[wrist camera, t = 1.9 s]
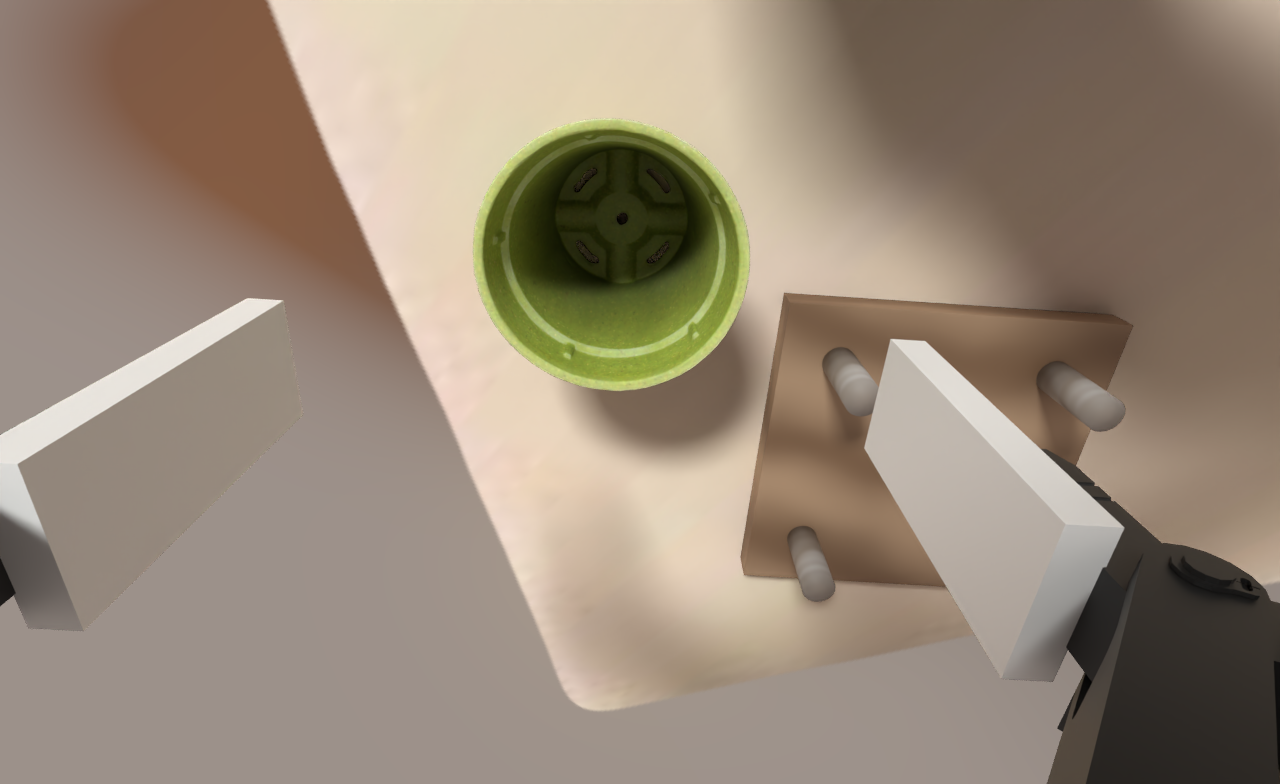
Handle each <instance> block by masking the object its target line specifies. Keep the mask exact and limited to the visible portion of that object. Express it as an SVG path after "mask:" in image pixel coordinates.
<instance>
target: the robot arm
mask: <svg viewBox="0 0 1280 784" xmlns="http://www.w3.org/2000/svg"><path fill="white" fill-rule="evenodd" d="M302 416H303V410H302V404H301V399H300V393H299V387H298V381H297V375H296V370H295V364H294V358H293V352H292V347H291V341H290V336H289V329H288V324H287V318H286V312H285V307H284V301H282V300H266V299H250V298H247V299H245V300H243V301H242V302H240V303H238V304H236V305H235V306H233V307H231V308H229V309H227V310H225V311H224V312H222V313H220V314H218V315H216V316H214V317H213V318H211V319H209V320H207V321H205V322H204V323H202V324H200V325H198V326H196V327H195V328H193V329H191V330H189V331H187V332H186V333H184V334H182V335H180V336H178V337H176V338H175V339H173V340H171V341H169V342H167V343H166V344H164V345H162V346H160V347H158V348H157V349H155V350H153V351H151V352H150V353H148V354H146V355H144V356H142V357H140V358H138V359H137V360H135V361H133V362H131V363H129V364H128V365H126V366H124V367H122V368H121V369H119V370H117V371H115V372H113V373H111V374H110V375H108V376H106V377H104V378H102V379H101V380H99V381H97V382H95V383H93V384H91V385H90V386H88V387H86V388H84V389H82V390H81V391H79V392H77V393H75V394H74V395H72V396H70V397H68V398H66V399H64V400H63V401H61V402H59V403H57V404H55V405H53V406H51V407H49V408H48V409H46V410H44V411H42V412H40V413H39V414H37V415H35V416H33V417H31V418H29V419H28V420H26V421H24V422H23V423H21V424H19V425H17V426H15V427H13V428H11V429H9V430H8V431H6V432H4V433H2V434H0V606H1V605H2V604H3V603H5V602H6V601H7V600H8V599H10V598H11V597H12V596H13V595H14V597H15V599H16V602H17V604H18V606H19V608H20V611H21V613H22V615H23V617H24V620H25V622H26V624H27V626H28V628H33V629H52V630H71V631H84V630H85V629H86V628H87V627H88V626H89V625H90V624H91V623H92V622H93V621H94V620H96V618H98V617H99V615H101V614H102V613H103V612H104V611H105V610H106V609H107V608H108V607H109V606H110V605H111V603H113V602H114V601H115V600H116V599H117V598H118V597H119V596H120V595H121V594H122V593H123V592H124V591H125V590H126V589H127V588H128V587H129V586H130V585H131V584H132V583H133V582H134V581H135V580H136V579H137V578H138V577H139V576H140V575H141V574H142V573H143V572H144V571H145V570H146V569H147V568H148V567H149V566H150V565H151V564H152V563H153V562H154V561H155V560H156V559H157V558H158V557H159V556H161V554H163V553H164V551H166V550H167V549H168V548H169V547H170V545H172V544H173V543H174V542H175V541H176V540H177V539H178V538H179V537H180V536H181V535H182V534H183V533H184V532H185V531H186V530H187V529H188V528H189V527H190V526H191V525H192V524H193V523H194V522H195V521H196V520H197V519H198V518H199V517H200V516H201V515H202V514H203V513H204V512H205V511H206V510H207V509H208V508H209V507H210V506H211V505H212V504H213V503H214V502H215V501H216V500H217V499H218V498H219V497H220V496H221V495H222V494H223V493H224V492H226V491H227V490H228V488H229V487H231V486H232V485H233V484H234V483H235V481H237V479H239V478H240V477H241V476H242V475H243V474H244V473H245V472H246V471H247V470H248V469H249V468H250V467H251V466H252V465H253V464H254V463H255V462H256V461H257V460H258V459H259V458H260V457H261V456H262V455H263V454H264V453H265V452H266V451H267V450H268V449H269V448H270V447H271V446H272V445H273V444H274V443H275V442H276V441H277V440H278V439H279V438H280V437H281V436H282V435H283V434H284V433H285V432H286V431H287V430H288V429H290V427H292V426H293V424H295V423H296V421H298V420H299V419H300V418H301V417H302ZM864 449H865V450H866V452H867V454H868V455H869V457H870V459H871V461H872V462H873V464H874V466H875V467H876V469H877V471H878V472H879V474H880V476H881V477H882V479H883V481H884V482H885V484H886V486H887V488H888V489H889V491H890V493H891V494H892V496H893V498H894V499H895V501H896V503H897V504H898V506H899V508H900V509H901V511H902V513H903V514H904V516H905V518H906V520H907V521H908V523H909V525H910V526H911V528H912V530H913V531H914V533H915V535H916V536H917V538H918V540H919V541H920V543H921V545H922V547H923V548H924V550H925V552H926V553H927V555H928V557H929V558H930V560H931V562H932V563H933V565H934V567H935V568H936V570H937V572H938V574H939V575H940V577H941V579H942V580H943V582H944V584H945V585H946V587H947V589H948V590H949V592H950V594H951V595H952V597H953V599H954V600H955V602H956V604H957V606H958V607H959V609H960V611H961V612H962V614H963V616H964V617H965V619H966V621H967V622H968V624H969V626H970V627H971V629H972V631H973V633H974V634H975V636H976V638H977V639H978V641H979V643H980V644H981V646H982V648H983V649H984V651H985V653H986V654H987V656H988V658H989V660H990V661H991V663H992V664H993V666H994V668H995V669H996V671H997V673H998V675H999V676H1000V678H1001V679H1009V680H1030V681H1049V682H1053V681H1054V678H1055V676H1056V674H1057V672H1058V670H1059V668H1060V665H1061V663H1062V661H1063V659H1064V657H1065V655H1066V653H1067V651H1068V650H1069V652H1070V653H1071V654H1072V656H1073V657H1074V658H1075V660H1076V661H1077V663H1078V664H1079V665H1080V667H1081V668H1082V669H1083V671H1084V672H1085V673H1084V675H1083V677H1082V679H1081V681H1080V683H1079V685H1078V687H1077V689H1076V691H1075V693H1074V695H1073V697H1072V699H1071V701H1070V703H1069V705H1068V708H1067V709H1066V712H1065V714H1064V716H1063V718H1062V720H1061V722H1060V724H1059V726H1058V729H1059V730H1061V731H1063V733H1062V736H1061V740H1060V743H1059V746H1058V749H1057V753H1056V756H1055V759H1054V762H1053V766H1052V769H1051V773H1050V775H1049V779H1048V782H1047V784H1280V603H1277V602H1273V601H1271V600H1270V599H1269V596H1268V594H1267V592H1266V590H1265V589H1264V588H1263V587H1262V586H1261V585H1260V584H1259V583H1258V582H1257V581H1256V580H1255V579H1254V578H1253V577H1252V576H1250V575H1249V574H1247V573H1246V572H1244V571H1243V570H1241V569H1239V568H1238V567H1236V566H1235V565H1233V564H1231V563H1230V562H1227V561H1225V560H1223V559H1221V558H1218V557H1216V556H1214V555H1212V554H1209V553H1207V552H1204V551H1201V550H1197V549H1194V548H1190V547H1187V546H1183V545H1175V544H1167V543H1161V542H1160V541H1159V540H1157V539H1156V538H1155V537H1154V536H1153V535H1152V534H1151V533H1150V532H1149V531H1147V530H1146V529H1145V528H1144V527H1143V526H1142V525H1141V524H1140V523H1139V522H1137V521H1136V520H1135V519H1134V518H1133V517H1132V516H1131V515H1130V514H1129V513H1127V512H1126V511H1125V510H1124V509H1123V508H1122V507H1121V506H1120V505H1119V504H1117V503H1116V502H1115V501H1111V497H1110V496H1109V495H1107V494H1106V493H1105V492H1104V491H1103V490H1102V489H1101V488H1100V487H1099V486H1094V482H1093V481H1092V480H1091V479H1090V478H1089V477H1087V476H1086V475H1085V474H1084V473H1083V472H1082V471H1081V470H1080V469H1079V468H1077V467H1076V466H1075V465H1074V464H1072V463H1070V462H1068V461H1067V460H1065V459H1063V458H1061V457H1059V456H1058V455H1056V454H1054V453H1052V452H1051V451H1049V450H1047V449H1040V448H1039V447H1038V446H1037V445H1036V444H1035V443H1034V442H1033V441H1031V440H1030V439H1029V438H1028V437H1027V436H1026V435H1025V434H1024V433H1023V432H1022V431H1021V430H1020V429H1019V428H1018V427H1017V426H1015V425H1014V424H1013V423H1012V422H1011V421H1010V420H1009V419H1008V418H1007V417H1006V416H1005V415H1004V414H1003V413H1002V412H1000V411H999V410H998V409H997V408H996V407H995V406H994V405H993V404H992V403H991V402H990V401H989V400H988V399H987V398H986V397H984V396H983V395H982V394H981V393H980V392H979V391H978V390H977V389H976V388H975V387H974V386H973V385H972V384H971V383H970V382H968V381H967V380H966V379H965V378H964V377H963V376H962V375H961V374H960V373H959V372H958V371H957V370H956V369H955V368H954V367H952V366H951V365H950V364H949V363H948V362H947V361H946V360H945V359H944V358H943V357H942V356H941V355H940V354H939V353H938V352H936V351H935V350H934V349H933V348H932V347H931V346H930V345H929V344H928V343H927V342H926V341H916V340H900V339H890V343H889V348H888V352H887V356H886V360H885V364H884V368H883V372H882V377H881V381H880V385H879V389H878V393H877V397H876V401H875V405H874V410H873V414H872V418H871V422H870V426H869V430H868V434H867V439H866V443H865V447H864Z"/></svg>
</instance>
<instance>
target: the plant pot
mask: <svg viewBox="0 0 1280 784" xmlns="http://www.w3.org/2000/svg"><path fill="white" fill-rule="evenodd" d="M591 168H595V169H597V174H596V175H594V176H593V177H592V178H591V179H589V180H588V181H587V182H586V184H585V185H584V186H583V187H582V188H581V190H580V191H579V192H575V189H574V186H575V184H577V183H578V181H579V180H581V178H582V175H583V174H584V173H585V172H586V171H587V170H589V169H591ZM647 169H649V170H650V169H652V170H654V171H656V172H657V173H659V174H660V175H661V176H662V177H663V178H664V179H665V180H666V181H667V182H668V184H669V187H670V191H669V192H668V193H664V191H663V190H662V188H661V187H660V186H659V184H658V183H657V182H656V181H655V180H654V178H652V177H651V175H650V174H648V173H647ZM620 213H625V214H626V215H627V216H628V220H627V222H626V223H625V224H622V225H621V224H619V223H618V222H617V216H618V215H619V214H620ZM577 241H582V243H583V244H584V245H585V246H586V248H587V249H588V250H589V251H590V252H591V253H592V254H593V255H595V256H596V257H597V258H598V259H599V263H592V262H590V261H588V260H587V259H586V258H585V257H584V256H583V255H582V254H581V253H580V251H579V250H578V248H577V246H576V242H577ZM665 242H668V245H669V248H668V250H667V251H666V252H665V253H664V254H663V255H662V256H661V258H660V259H659V260H658V261H656V262H655V263H648V262H647V259H648V258H649V257H650V256H652V255H653V254H655V253H656V252H657V251H658V250H659V249H660V248H661V247H662V245H663V244H664V243H665ZM473 264H474V273H475V277H476V282H477V286H478V289H479V293H480V296H481V299H482V302H483V304H484V306H485V308H486V310H487V312H488V314H489V316H490V318H491V319H492V321H493V323H494V324H495V326H496V327H497V329H498V330H499V331H500V333H501V334H502V335H503V337H504V338H505V339H506V340H507V341H508V342H509V344H510V345H511V346H513V347H514V348H515V349H516V350H517V351H518V352H519V353H520V354H521V355H522V356H523V357H525V358H526V359H527V360H529V361H530V362H531V363H532V364H534V365H535V366H537V367H538V368H540V369H542V370H543V371H545V372H547V373H548V374H550V375H552V376H554V377H557V378H559V379H561V380H564V381H567V382H570V383H573V384H575V385H578V386H583V387H587V388H592V389H600V390H610V391H625V390H636V389H642V388H647V387H651V386H654V385H658V384H661V383H664V382H666V381H669V380H671V379H673V378H675V377H678V376H680V375H682V374H683V373H685V372H687V371H688V370H690V369H692V368H693V367H694V366H696V365H697V364H698V363H699V362H700V361H702V360H703V359H704V358H705V357H706V356H707V355H709V354H710V353H711V352H712V351H713V350H714V349H715V348H716V347H717V345H718V344H719V343H720V342H721V341H722V339H723V338H724V337H725V335H726V334H727V332H728V331H729V329H730V328H731V326H732V324H733V322H734V320H735V319H736V316H737V314H738V312H739V310H740V308H741V305H742V302H743V299H744V296H745V292H746V288H747V283H748V277H749V267H750V245H749V236H748V230H747V226H746V223H745V219H744V216H743V213H742V210H741V208H740V206H739V203H738V201H737V199H736V197H735V195H734V194H733V192H732V190H731V188H730V186H729V185H728V183H727V182H726V180H725V179H724V177H723V176H722V175H721V174H720V172H719V171H718V170H717V169H716V167H715V166H714V165H713V164H712V163H711V162H710V161H709V160H708V159H707V158H706V157H705V156H704V155H703V154H702V153H700V152H699V151H698V150H697V149H696V148H694V147H693V146H691V145H690V144H688V143H687V142H685V141H684V140H682V139H680V138H679V137H677V136H675V135H673V134H671V133H669V132H667V131H665V130H662V129H660V128H657V127H654V126H651V125H648V124H645V123H641V122H636V121H632V120H624V119H609V118H606V119H589V120H583V121H578V122H574V123H570V124H567V125H563V126H560V127H558V128H555V129H553V130H551V131H548V132H547V133H545V134H543V135H541V136H539V137H537V138H536V139H534V140H533V141H531V142H530V143H528V144H527V145H526V146H524V147H523V148H522V149H521V150H520V151H518V152H517V153H516V154H515V155H514V156H513V157H512V158H511V159H510V160H509V161H508V162H507V163H506V165H505V166H504V167H503V168H502V169H501V171H500V172H499V173H498V174H497V176H496V177H495V179H494V180H493V182H492V184H491V185H490V187H489V189H488V191H487V193H486V195H485V197H484V199H483V202H482V204H481V207H480V210H479V213H478V216H477V220H476V224H475V229H474V241H473Z"/></svg>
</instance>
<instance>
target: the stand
mask: <svg viewBox="0 0 1280 784" xmlns="http://www.w3.org/2000/svg"><path fill="white" fill-rule="evenodd" d="M1132 327H1133V325H1131V324H1129V323H1128V322H1126V321H1124V320H1122V319H1120V318H1118V317H1116V316H1114V315H1107V314H1092V313H1077V312H1062V311H1047V310H1032V309H1017V308H1001V307H986V306H971V305H956V304H941V303H926V302H911V301H896V300H881V299H866V298H851V297H835V296H820V295H805V294H790V293H784V297H783V303H782V309H781V315H780V321H779V328H778V334H777V340H776V346H775V352H774V358H773V364H772V370H771V376H770V382H769V388H768V394H767V400H766V406H765V412H764V418H763V424H762V431H761V437H760V443H759V449H758V455H757V461H756V467H755V473H754V479H753V485H752V491H751V497H750V503H749V509H748V515H747V521H746V527H745V533H744V540H743V546H742V552H741V562H742V567H743V573H744V575H756V576H773V577H790V578H799V582H800V585H801V588H802V592H803V595H804V596H805V597H806V598H807V599H808V600H811V601H815V602H819V601H824V600H826V599H828V598H830V597H831V596H832V595H833V594H834V592H835V584H834V581H833V580H842V581H859V582H876V583H893V584H910V585H928V586H945V587H946V585H945V584H944V582H943V580H942V579H941V577H940V575H939V574H938V572H937V570H936V568H935V567H934V565H933V563H932V562H931V560H930V558H929V557H928V555H927V553H926V552H925V550H924V548H923V547H922V545H921V543H920V541H919V540H918V538H917V536H916V535H915V533H914V531H913V530H912V528H911V526H910V525H909V523H908V521H907V520H906V518H905V516H904V514H903V513H902V511H901V509H900V508H899V506H898V504H897V503H896V501H895V499H894V498H893V496H892V494H891V493H890V491H889V489H888V488H887V486H886V484H885V482H884V481H883V479H882V477H881V476H880V474H879V472H878V471H877V469H876V467H875V466H874V464H873V462H872V461H871V459H870V457H869V455H868V454H867V452H866V450H865V449H864V447H865V443H866V439H867V434H868V430H869V426H870V422H871V418H872V414H873V410H874V405H875V401H876V397H877V393H878V389H879V385H880V381H881V377H882V372H883V368H884V364H885V360H886V356H887V352H888V348H889V343H890V339H900V340H916V341H926V342H927V343H928V344H929V345H930V346H931V347H932V348H933V349H934V350H935V351H936V352H938V353H939V354H940V355H941V356H942V357H943V358H944V359H945V360H946V361H947V362H948V363H949V364H950V365H951V366H952V367H954V368H955V369H956V370H957V371H958V372H959V373H960V374H961V375H962V376H963V377H964V378H965V379H966V380H967V381H968V382H970V383H971V384H972V385H973V386H974V387H975V388H976V389H977V390H978V391H979V392H980V393H981V394H982V395H983V396H984V397H986V398H987V399H988V400H989V401H990V402H991V403H992V404H993V405H994V406H995V407H996V408H997V409H998V410H999V411H1000V412H1002V413H1003V414H1004V415H1005V416H1006V417H1007V418H1008V419H1009V420H1010V421H1011V422H1012V423H1013V424H1014V425H1015V426H1017V427H1018V428H1019V429H1020V430H1021V431H1022V432H1023V433H1024V434H1025V435H1026V436H1027V437H1028V438H1029V439H1030V440H1031V441H1033V442H1034V443H1035V444H1036V445H1037V446H1038V447H1039V448H1040V449H1047V450H1049V451H1051V452H1052V453H1054V454H1056V455H1058V456H1059V457H1061V458H1063V459H1065V460H1067V461H1068V462H1070V463H1072V464H1074V465H1075V466H1076V464H1077V461H1078V459H1079V456H1080V454H1081V452H1082V449H1083V447H1084V444H1085V442H1086V439H1087V437H1088V434H1089V432H1090V430H1091V429H1092V430H1094V431H1099V432H1101V431H1107V430H1110V429H1112V428H1114V427H1115V426H1116V425H1118V424H1119V423H1120V422H1121V420H1122V419H1123V417H1124V415H1125V406H1124V404H1123V403H1122V402H1121V401H1120V400H1118V399H1117V398H1115V397H1114V396H1113V395H1111V394H1110V393H1108V392H1107V388H1108V386H1109V383H1110V381H1111V378H1112V376H1113V374H1114V371H1115V369H1116V366H1117V364H1118V361H1119V359H1120V357H1121V354H1122V352H1123V349H1124V347H1125V344H1126V342H1127V339H1128V337H1129V335H1130V332H1131V330H1132Z"/></svg>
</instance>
